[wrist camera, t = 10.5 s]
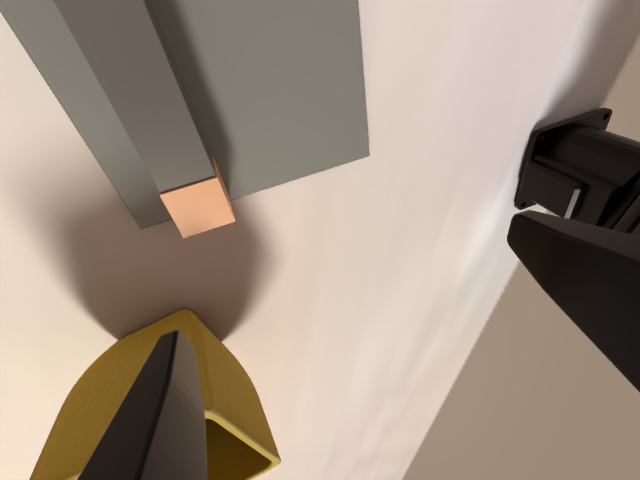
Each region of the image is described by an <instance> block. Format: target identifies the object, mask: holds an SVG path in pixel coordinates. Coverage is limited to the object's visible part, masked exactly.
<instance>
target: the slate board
mask: <svg viewBox="0 0 640 480" xmlns="http://www.w3.org/2000/svg"><path fill="white" fill-rule="evenodd" d="M149 2H150V4H151V7H152V9H153V12H154V14H155V17H156V19H157V22H158V24H159V27H160V29H161V32H162V34H163V37H164V39H165V41H166V44H167V46H168V49H169V51H170V54H171V56H172V59H173V61H174V64H175V66H176V69H177V71H178V74H179V76H180V79H181V81H182V83H183V86H184V88H185V91H186V93H187V96H188V98H189V101H190V103H191V106H192V108H193V111H194V113H195V116H196V118H197V121H198V123H199V125H200V128H201V130H202V133H203V135H204V138H205V140H206V143H207V145H208V148H209V150H210V153H211V155H212V156H213V157H214V160H215V162H216V165H217V167H218V170H219V172H220V175H221V177H222V180H223V182H224V185H225V187H226V190H227V192H228V195H229V197H230V200H233V199H236V198H239V197H243V196H246V195H249V194H252V193H255V192H258V191H261V190H264V189H267V188H271V187H274V186H277V185H280V184H283V183H286V182H289V181H292V180H296V179H299V178H302V177H305V176H308V175H311V174H314V173H317V172H321V171H324V170H327V169H330V168H333V167H336V166H339V165H342V164H346V163H349V162H352V161H355V160H358V159H361V158H364V157H367V156H370V154H369V141H368V128H367V115H366V102H365V89H364V76H363V63H362V50H361V37H360V24H359V11H358V0H149ZM0 12H1V13H2V15H3V16H4V18H5V20H6V21H7V23H8V24H9V26H10V27H11V29H12V30H13V32H14V33H15V35H16V37H17V38H18V40H19V41H20V43H21V44H22V46H23V47H24V49H25V50H26V52H27V53H28V55H29V57H30V58H31V60H32V61H33V63H34V64H35V66H36V67H37V69H38V70H39V72H40V73H41V75H42V77H43V78H44V80H45V81H46V83H47V84H48V86H49V87H50V89H51V90H52V92H53V94H54V95H55V97H56V98H57V100H58V101H59V103H60V104H61V106H62V107H63V109H64V110H65V112H66V114H67V115H68V117H69V118H70V120H71V121H72V123H73V124H74V126H75V127H76V129H77V130H78V132H79V134H80V135H81V137H82V138H83V140H84V141H85V143H86V144H87V146H88V147H89V149H90V150H91V152H92V154H93V155H94V157H95V158H96V160H97V161H98V163H99V164H100V166H101V167H102V169H103V171H104V172H105V174H106V175H107V177H108V178H109V180H110V181H111V183H112V184H113V186H114V187H115V189H116V191H117V192H118V194H119V195H120V197H121V198H122V200H123V201H124V203H125V204H126V206H127V207H128V209H129V211H130V212H131V214H132V215H133V217H134V218H135V220H136V221H137V223H138V224H139V226H140V227H141V229H143V228H146V227H149V226H152V225H155V224H158V223H161V222H164V221H168V220H171V219H172V217H171V215H170V213H169V211H168V210H167V208H166V206H165V204H164V203H163V201H162V199H161V197H160V192H159V190H158V188H157V186H156V184H155V183H154V181H153V179H152V177H151V175H150V174H149V172H148V170H147V168H146V166H145V165H144V163H143V161H142V159H141V157H140V156H139V154H138V152H137V150H136V148H135V147H134V145H133V143H132V141H131V139H130V137H129V136H128V134H127V132H126V130H125V128H124V127H123V125H122V123H121V121H120V119H119V118H118V116H117V114H116V112H115V110H114V109H113V107H112V105H111V103H110V101H109V100H108V98H107V96H106V94H105V92H104V91H103V89H102V87H101V85H100V83H99V82H98V80H97V78H96V76H95V74H94V73H93V71H92V69H91V67H90V65H89V64H88V62H87V60H86V58H85V56H84V55H83V53H82V51H81V49H80V47H79V46H78V44H77V42H76V40H75V38H74V37H73V35H72V33H71V31H70V29H69V28H68V26H67V24H66V22H65V20H64V19H63V17H62V15H61V13H60V11H59V10H58V8H57V6H56V4H55V2H54V0H0Z"/></svg>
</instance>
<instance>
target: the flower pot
mask: <svg viewBox="0 0 640 480" xmlns="http://www.w3.org/2000/svg"><path fill="white" fill-rule="evenodd" d="M177 329H178V330H181V331H182V332H183V334H184V335H185V337H186V338H187V340H188V341H189V342H190V344H191V345H192V347H193V348H194V350H195V353H196V357H197V364H198V371H199V378H200V385H201V392H202V398H203V405H204V413H205V424H206V457H207V480H252V479H254V478H256V477H257V476H259V475H261V474H263V473H265V472H267V471H269V470H270V469H272V468H273V467H275V466H277V465H278V464H280V462H281V459H280V456H279V454H278V451H277V448H276V445H275V442H274V439H273V436H272V433H271V430H270V428H269V425H268V422H267V419H266V416H265V413H264V411H263V408H262V405H261V402H260V399H259V397H258V394H257V392H256V389H255V387H254V385H253V383H252V381H251V379H250V378H249V376H248V374H247V373H246V371H245V370H244V368H243V367H242V366H241V364H240V363H239V361H238V360H237V359H236V358H235V357H234V355H233V354H232V353H231V352H230V351H229V350H228V349H227V348H226V347H225V346H224V344H223V343H222V342H221V341H220V340H219V339H218V338H217V337H216V336H215V335H214V334H213V333H212V332H211V331H210V330H209V329H208V328H207V327H206V326H205V325H204V324H203V323H202V322H201V320H200V319H199V318H198V317H197V316H196V315H195V314H194V313H193V312H192V311H190V310H188V309H182V310H179V311H177V312H175V313H173V314H171V315H169V316H167V317H165V318H163V319H161V320H159V321H157V322H155V323H153V324H151V325H149V326H147V327H145V328H143V329H140V330H138V331H136V332H134V333H132V334H130V335H128V336H126V337H124V338H122V339H120V340H118V341H117V342H116V343H115V344H114V345H112V346H111V347H110V348H109V349H108V350H107V351H105V352H104V353H103V354H102V355H101V356H100V357H99V358H98V359H97V360H96V361H95V362H94V363H93V364H92V365H91V366H90V367H89V368H88V369H87V370H86V371H85V372H84V374H83V375H82V376H81V377H80V379H79V380H78V381H77V383H76V384H75V385H74V387H73V388H72V390H71V391H70V393H69V395H68V396H67V398H66V400H65V402H64V403H63V405H62V407H61V409H60V412H59V414H58V416H57V418H56V420H55V423H54V425H53V427H52V429H51V432H50V434H49V436H48V438H47V441H46V443H45V445H44V447H43V450H42V452H41V454H40V457H39V459H38V461H37V463H36V466H35V468H34V470H33V473H32V475H31V477H30V479H29V480H77V478H78V477H79V475H80V473H81V471H82V470H83V468H84V466H85V465H86V463H87V461H88V459H89V458H90V456H91V454H92V452H93V451H94V449H95V447H96V446H97V444H98V442H99V440H100V439H101V437H102V435H103V434H104V432H105V430H106V428H107V427H108V425H109V423H110V421H111V420H112V418H113V416H114V415H115V413H116V411H117V409H118V408H119V406H120V404H121V402H122V401H123V399H124V397H125V396H126V394H127V392H128V390H129V389H130V387H131V385H132V383H133V382H134V380H135V378H136V377H137V375H138V373H139V371H140V370H141V368H142V366H143V365H144V363H145V361H146V359H147V358H148V356H149V354H150V352H151V351H152V349H153V347H154V346H155V344H156V342H157V340H158V339H159V337H160V336H161V335H162V334H165V333H168V332H170V331H173V330H177Z"/></svg>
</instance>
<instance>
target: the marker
mask: <svg viewBox="0 0 640 480" xmlns="http://www.w3.org/2000/svg"><path fill="white" fill-rule="evenodd" d="M54 2H55V4H56V6H57V8H58V10H59V11H60V13H61V15H62V17H63V19H64V20H65V22H66V24H67V26H68V28H69V29H70V31H71V33H72V35H73V37H74V38H75V40H76V42H77V44H78V46H79V47H80V49H81V51H82V53H83V55H84V56H85V58H86V60H87V62H88V64H89V65H90V67H91V69H92V71H93V73H94V74H95V76H96V78H97V80H98V82H99V83H100V85H101V87H102V89H103V91H104V92H105V94H106V96H107V98H108V100H109V101H110V103H111V105H112V107H113V109H114V110H115V112H116V114H117V116H118V118H119V119H120V121H121V123H122V125H123V127H124V128H125V130H126V132H127V134H128V136H129V137H130V139H131V141H132V143H133V145H134V147H135V148H136V150H137V152H138V154H139V156H140V157H141V159H142V161H143V163H144V165H145V166H146V168H147V170H148V172H149V174H150V175H151V177H152V179H153V181H154V183H155V184H156V186H157V188H158V190H159V192H160V197H161V199H162V201H163V203H164V204H165V206H166V208H167V210H168V211H169V213H170V215H171V217H172V219H173V220H174V222H175V224H176V226H177V228H178V229H179V231H180V233H181V235H182V236H183V238H187V237H190V236H193V235H196V234H199V233H202V232H205V231H208V230H211V229H214V228H217V227H220V226H223V225H226V224H229V223H232V222H235V217H234V213H233V209H232V205H231V201H230V197H229V195H228V192H227V190H226V187H225V185H224V182H223V180H222V177H221V175H220V172H219V170H218V167H217V165H216V162H215V160H214V157H213V156H212V155H211V153H210V150H209V148H208V145H207V143H206V140H205V138H204V135H203V133H202V130H201V128H200V125H199V123H198V121H197V118H196V116H195V113H194V111H193V108H192V106H191V103H190V101H189V98H188V96H187V93H186V91H185V88H184V86H183V83H182V81H181V79H180V76H179V74H178V71H177V69H176V66H175V64H174V61H173V59H172V56H171V54H170V51H169V49H168V46H167V44H166V41H165V39H164V37H163V34H162V32H161V29H160V27H159V24H158V22H157V19H156V17H155V14H154V12H153V9H152V7H151V4H150V2H149V0H54Z"/></svg>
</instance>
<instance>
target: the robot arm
mask: <svg viewBox="0 0 640 480" xmlns="http://www.w3.org/2000/svg"><path fill="white" fill-rule="evenodd" d="M611 114H612V110H611V109H608V108H601V109H598V110H595V111H592V112H589V113H586V114H583V115H580V116H577V117H574V118H571V119H568V120H565V121H562V122H559V123H556V124H553V125H550V126H547V127H545V128H542V129H539V130H537V131H535V132H534V133H533V135H532V137H531V139H530V143H529V147H528V151H527V155H526V159H525V163H524V167H523V171H522V175H521V180H520V184H519V188H518V192H517V196H516V200H515V204H514V206H515V207H516V208H518V209H519V210H522V209H525V208H528V207H530V206H533V205H536V204H539V205H540V206H542V207H544V208H545V209H547V210H549V211H550V212H552V213H554V214H555V215H557V216H559V217H557V216H553V215H549V214H545V213H541V212H536V211H532V210H526V211H523V212H520V213H517V214H515V215H514V216H513V217H512V220H511V224H510V227H509V231H508V235H507V242H508V244H509V246H510V248H511V249H512V250H513V252H514V253H515V254H516V255H517V257H518V258H519V259H520V261H521V262H522V263H523V265H524V266H525V267H526V268H527V270H528V271H529V272H530V274H531V275H532V276H533V277H534V279H535V280H536V281H537V283H538V284H539V285H540V286H541V288H542V289H543V290H544V291H545V292H546V293H547V294H548V295H549V297H550V298H551V299H552V300H553V301H554V302H555V303H556V304H557V305H558V306H559V307H560V308H561V309H562V310H563V311H564V312H565V314H566V315H567V316H568V317H569V318H570V319H571V320H572V321H573V322H574V323H575V324H576V325H577V326H578V327H579V328H580V330H581V331H582V332H583V333H584V334H585V335H586V336H587V337H588V338H589V339H590V340H591V341H592V342H593V343H594V344H595V345H596V346H597V348H598V349H599V350H600V351H601V352H602V353H603V354H604V355H605V356H606V357H607V358H608V359H609V360H610V361H611V362H612V363H613V365H615V367H616V368H617V369H618V370H619V371H620V372H621V373H622V374H623V375H624V376H625V377H626V378H627V379H628V380H629V382H631V384H632V385H633V386H634V387H635V388H636V389H637V390H638V391H639V392H640V142H638V141H635V140H632V139H629V138H626V137H623V136H620V135H616V134H613V133H611V132H608V131H605V130H606V127H607V125H608V122H609V120H610V117H611ZM77 480H207V457H206V424H205V413H204V405H203V398H202V392H201V385H200V378H199V371H198V364H197V357H196V353H195V350H194V348H193V347H192V345H191V344H190V342H189V341H188V340H187V338H186V337H185V335H184V334H183V332H182V331H181V330H178V329H177V330H173V331H170V332H168V333H165V334H162V335H161V336H160V337H159V339H158V340H157V342H156V344H155V346H154V347H153V349H152V351H151V352H150V354H149V356H148V358H147V359H146V361H145V363H144V365H143V366H142V368H141V370H140V371H139V373H138V375H137V377H136V378H135V380H134V382H133V383H132V385H131V387H130V389H129V390H128V392H127V394H126V396H125V397H124V399H123V401H122V402H121V404H120V406H119V408H118V409H117V411H116V413H115V415H114V416H113V418H112V420H111V421H110V423H109V425H108V427H107V428H106V430H105V432H104V434H103V435H102V437H101V439H100V440H99V442H98V444H97V446H96V447H95V449H94V451H93V452H92V454H91V456H90V458H89V459H88V461H87V463H86V465H85V466H84V468H83V470H82V471H81V473H80V475H79V477H78V478H77Z"/></svg>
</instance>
